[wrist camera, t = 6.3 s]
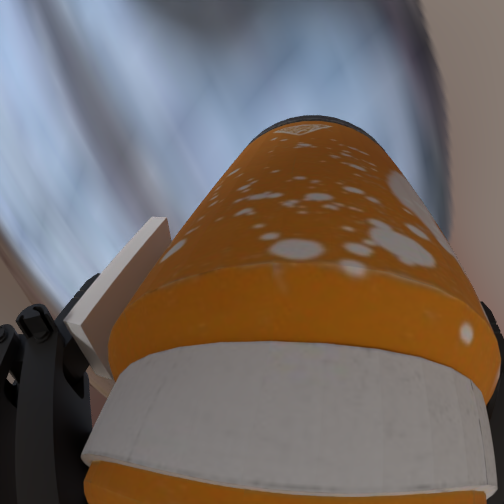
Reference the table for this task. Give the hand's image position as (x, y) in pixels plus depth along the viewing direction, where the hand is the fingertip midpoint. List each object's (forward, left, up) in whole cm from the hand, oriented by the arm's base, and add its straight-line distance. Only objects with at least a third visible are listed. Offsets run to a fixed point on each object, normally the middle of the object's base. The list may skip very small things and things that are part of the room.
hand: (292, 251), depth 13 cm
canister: (0, 0, -5) cm, 5 cm away
